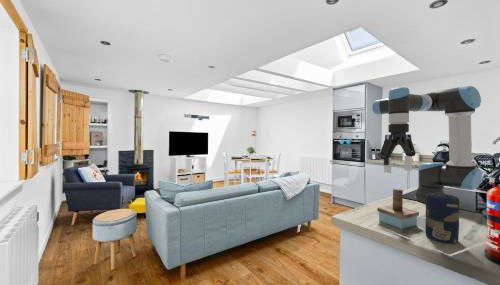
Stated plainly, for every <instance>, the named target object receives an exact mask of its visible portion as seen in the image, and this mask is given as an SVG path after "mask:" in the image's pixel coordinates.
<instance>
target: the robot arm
mask: <svg viewBox="0 0 500 285" xmlns="http://www.w3.org/2000/svg"><path fill="white" fill-rule="evenodd" d="M481 103H482V96H481V94H480V92H479V90H478V89H477V87H475V86H474V85H473V86H472V85H467V86H466V85H465V86H458V87H453V88H447V89H441V90H436V91H431V92H429V93H428V92H427V93H423V94H414V93H410V89H409V87H405V86H404V87H394V88H391V89H390V90H388V98H384V99H378V100H375V101H373V103H372V105H371V107H372V112H373V113H374V114H375V115H386V114H388V131H387V132H388V133H389V134H385V136H384V141H383V144H382V147H381V149H380V153H379V156H380V157H381V158H383V173H388V174H392V157H391V156H392V154H393V152H394V150H395V149H396V147H398V145H399V146H400V147H401V150H403V152H404V154H405V155H404V162H403V163H404V164H403V165H404V166H403V167H404V171H410V172H411V171H412V170H413V169H412V168H413V166H412V165H413V157H415V156H416V150H415V147H414V146H415V145H414V143H413V140H412V134H409V132H410V124H409V123H410V112H444V115H445V116H447V117H448V143H449V144H448V147H449V148H448V153H449V155H448V156H449V160H448V161H447V162H445V163H444V162H423V163H420V164H419V165H418V169H417V170H418V186H417V189H416V191H415V194H414V200H416V202H417V201H418V202H421V203H422V204H423V203H425V204H426V195H427V194H429V193H436V192H441V193H444V194H446V192H445V190H444V189H445V187H448V188H449V187H450V188H453V189H454V188H456V189H459V190H465V191H466V190H467V191H473V190H476V189H477V188H478V187H479V186H480V183H481V182H482V177H483V173H482V170H481V169H480V168H477V164H476V163H475V162H473V161H472V159H473V157H472V152H473V151H472V115H473V114H475V112H476V109H478V108H479V107H480V106H481ZM406 133H407V134H406Z"/></svg>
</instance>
